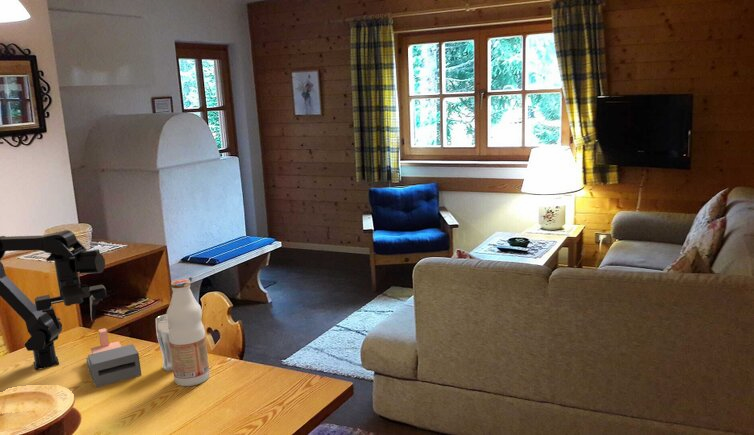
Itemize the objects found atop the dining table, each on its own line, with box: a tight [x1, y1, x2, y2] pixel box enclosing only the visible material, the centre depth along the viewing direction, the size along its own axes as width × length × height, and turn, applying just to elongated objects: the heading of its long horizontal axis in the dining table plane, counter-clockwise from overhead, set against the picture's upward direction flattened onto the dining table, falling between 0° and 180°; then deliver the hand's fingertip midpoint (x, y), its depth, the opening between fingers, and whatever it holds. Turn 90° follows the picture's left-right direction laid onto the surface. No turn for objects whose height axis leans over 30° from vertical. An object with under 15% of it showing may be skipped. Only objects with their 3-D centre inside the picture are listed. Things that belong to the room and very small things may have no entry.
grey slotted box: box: [85, 343, 142, 388], centre depth 178 cm, size 16×12×7 cm
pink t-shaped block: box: [90, 328, 123, 354], centre depth 182 cm, size 16×8×5 cm, turn 32°
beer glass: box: [155, 313, 173, 372], centre depth 178 cm, size 7×7×15 cm
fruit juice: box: [166, 278, 210, 387], centre depth 168 cm, size 9×9×28 cm
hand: (75, 324), depth 183 cm, fingers open, 9 cm apart
